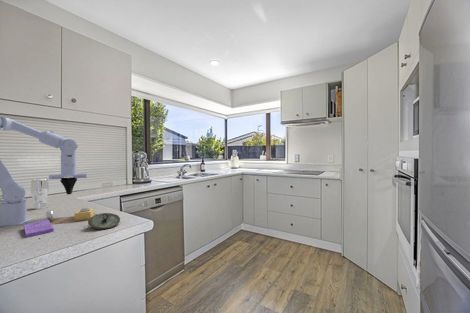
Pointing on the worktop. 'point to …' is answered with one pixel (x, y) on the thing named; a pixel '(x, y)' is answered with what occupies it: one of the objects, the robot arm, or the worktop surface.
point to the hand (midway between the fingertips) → (69, 194)
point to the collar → (84, 215)
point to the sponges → (38, 228)
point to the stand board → (64, 218)
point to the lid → (104, 221)
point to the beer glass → (39, 193)
